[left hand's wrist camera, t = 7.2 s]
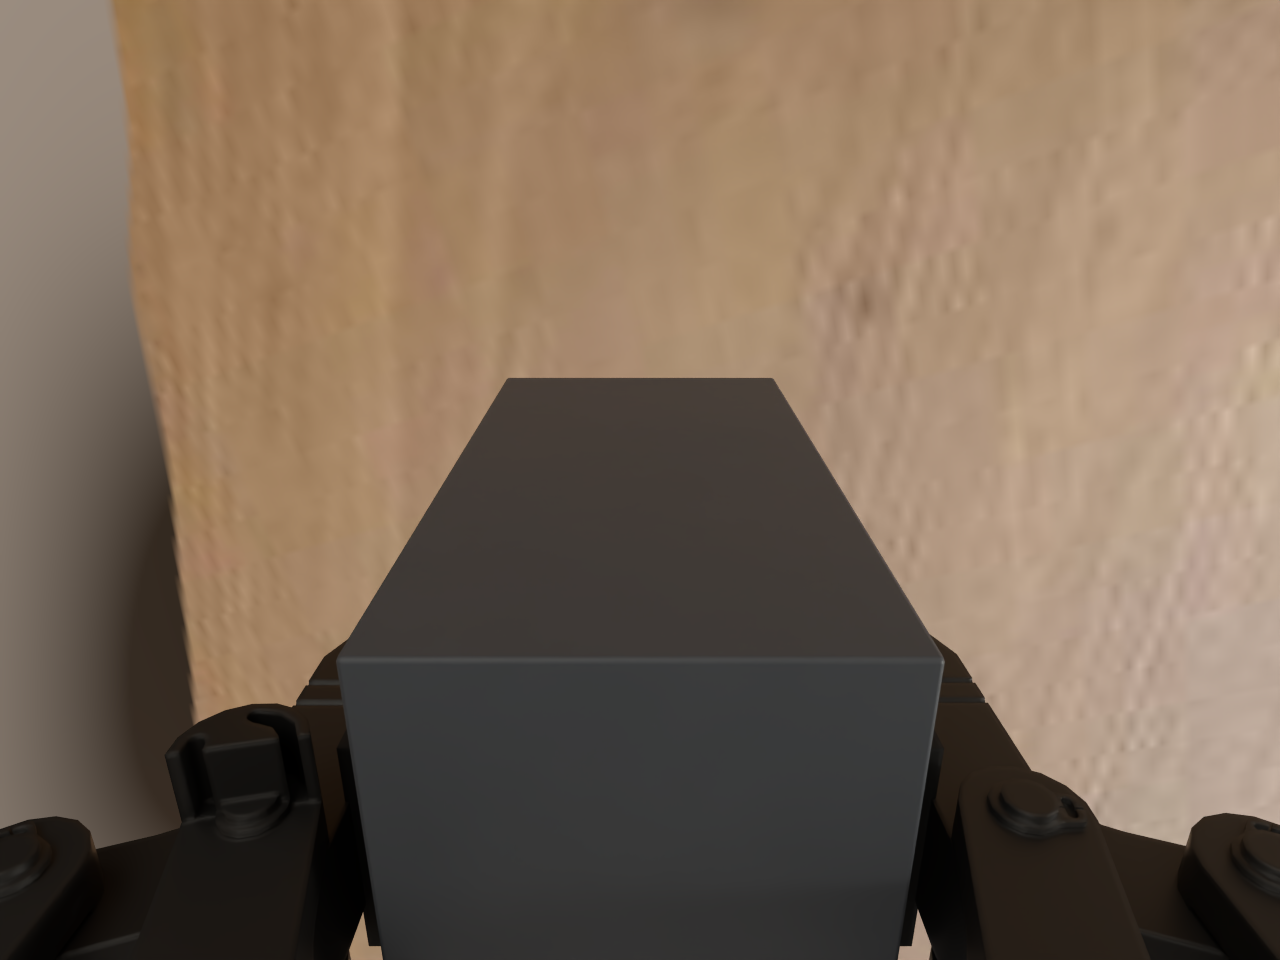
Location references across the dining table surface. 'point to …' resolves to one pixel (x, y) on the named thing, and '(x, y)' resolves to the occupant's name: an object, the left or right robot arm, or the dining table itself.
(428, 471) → the dining table surface
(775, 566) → the bar
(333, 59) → the dining table surface
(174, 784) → the left robot arm
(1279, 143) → the dining table surface
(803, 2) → the dining table surface
